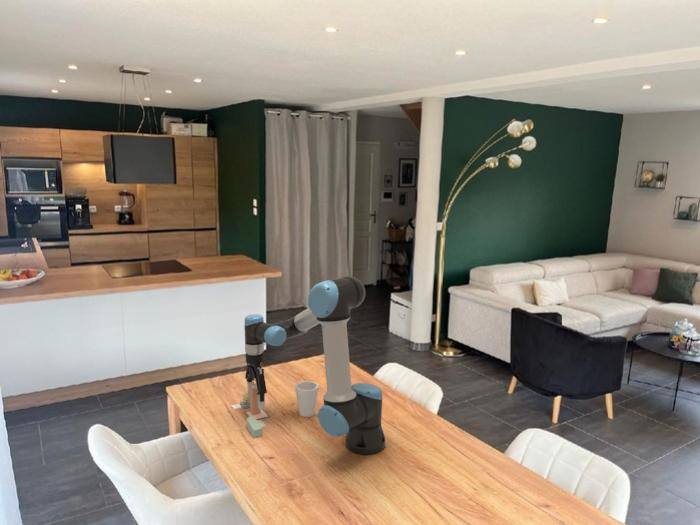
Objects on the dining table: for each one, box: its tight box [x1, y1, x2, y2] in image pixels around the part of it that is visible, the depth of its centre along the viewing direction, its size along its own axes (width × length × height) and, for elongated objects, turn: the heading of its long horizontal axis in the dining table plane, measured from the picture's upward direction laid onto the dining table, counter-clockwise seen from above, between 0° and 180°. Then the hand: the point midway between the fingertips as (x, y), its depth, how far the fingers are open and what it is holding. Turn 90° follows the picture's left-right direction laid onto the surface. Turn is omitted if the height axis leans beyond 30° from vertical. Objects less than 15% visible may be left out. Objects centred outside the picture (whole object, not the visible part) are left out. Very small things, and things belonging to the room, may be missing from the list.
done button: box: [242, 392, 250, 402], centre depth 222 cm, size 4×4×2 cm
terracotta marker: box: [249, 382, 261, 415], centre depth 216 cm, size 3×3×12 cm
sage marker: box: [245, 417, 264, 439], centre depth 201 cm, size 10×3×3 cm, turn 29°
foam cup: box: [295, 380, 319, 418], centre depth 216 cm, size 10×9×13 cm
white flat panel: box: [230, 400, 271, 428], centre depth 214 cm, size 28×14×2 cm, turn 29°
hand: (256, 402), depth 215 cm, fingers open, 12 cm apart
